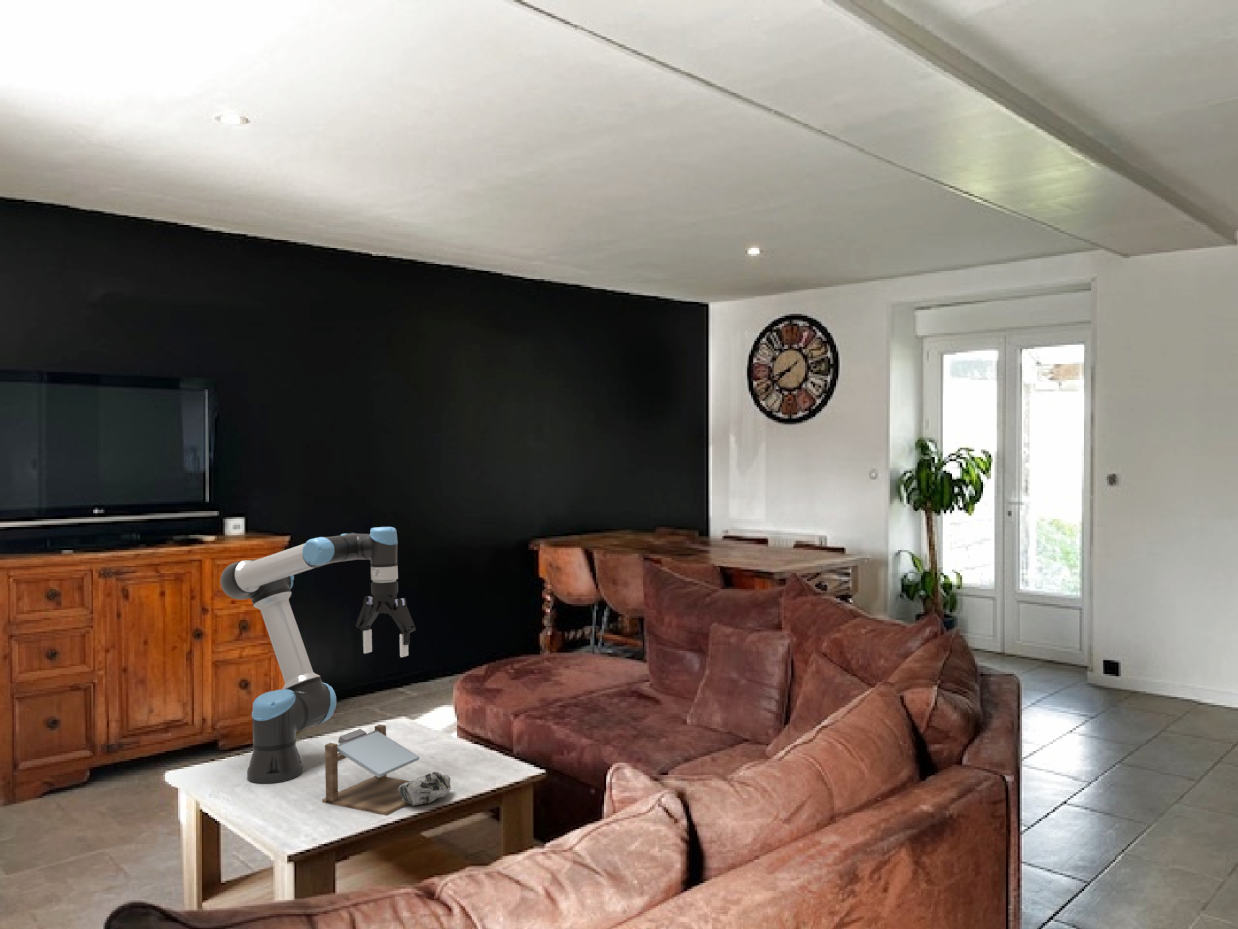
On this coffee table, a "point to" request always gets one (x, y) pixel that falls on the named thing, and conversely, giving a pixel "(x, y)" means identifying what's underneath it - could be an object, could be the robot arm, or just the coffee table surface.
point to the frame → (362, 787)
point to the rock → (425, 788)
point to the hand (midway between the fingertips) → (385, 654)
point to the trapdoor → (375, 752)
